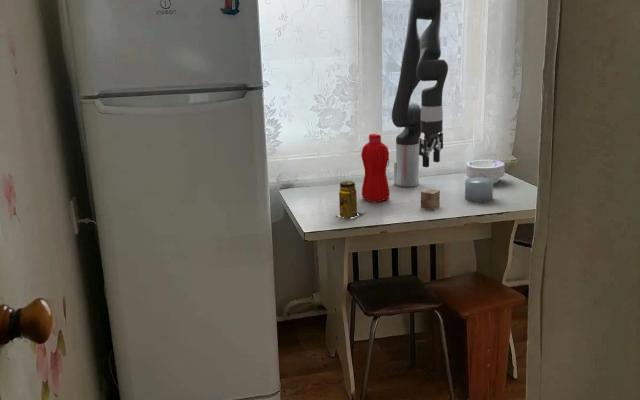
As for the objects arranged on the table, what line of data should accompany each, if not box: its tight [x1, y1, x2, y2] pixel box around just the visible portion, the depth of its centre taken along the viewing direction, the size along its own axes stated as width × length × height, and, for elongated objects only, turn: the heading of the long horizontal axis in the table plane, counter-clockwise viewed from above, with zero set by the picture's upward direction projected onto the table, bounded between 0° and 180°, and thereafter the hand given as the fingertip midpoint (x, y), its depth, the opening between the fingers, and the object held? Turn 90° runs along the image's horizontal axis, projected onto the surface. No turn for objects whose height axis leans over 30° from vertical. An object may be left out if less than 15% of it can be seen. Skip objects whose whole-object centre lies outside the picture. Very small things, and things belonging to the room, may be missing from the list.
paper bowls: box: [465, 159, 506, 185], centre depth 247 cm, size 15×15×8 cm
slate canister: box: [464, 177, 494, 204], centre depth 224 cm, size 10×10×7 cm
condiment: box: [338, 180, 366, 219], centre depth 211 cm, size 7×8×12 cm
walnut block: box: [420, 188, 441, 211], centre depth 217 cm, size 5×5×6 cm
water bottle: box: [360, 133, 390, 203], centre depth 227 cm, size 9×11×25 cm
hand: (431, 164), depth 213 cm, fingers open, 8 cm apart
